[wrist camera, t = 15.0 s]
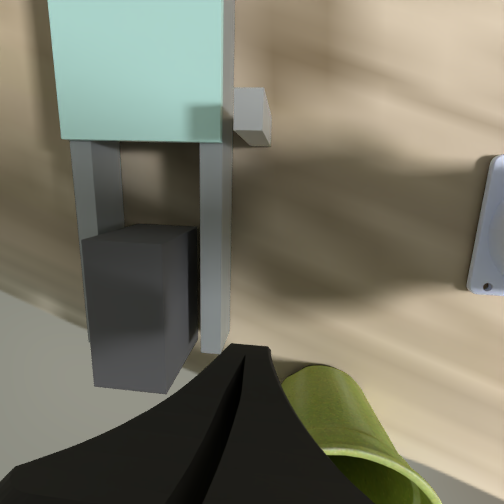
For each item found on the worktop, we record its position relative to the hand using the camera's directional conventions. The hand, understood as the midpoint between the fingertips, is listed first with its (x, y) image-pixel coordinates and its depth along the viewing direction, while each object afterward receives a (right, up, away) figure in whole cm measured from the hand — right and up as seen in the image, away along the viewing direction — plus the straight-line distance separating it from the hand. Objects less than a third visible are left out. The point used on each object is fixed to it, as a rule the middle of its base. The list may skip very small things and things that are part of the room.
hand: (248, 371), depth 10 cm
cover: (-5, +16, +5) cm, 17 cm away
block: (-6, +2, +11) cm, 13 cm away
